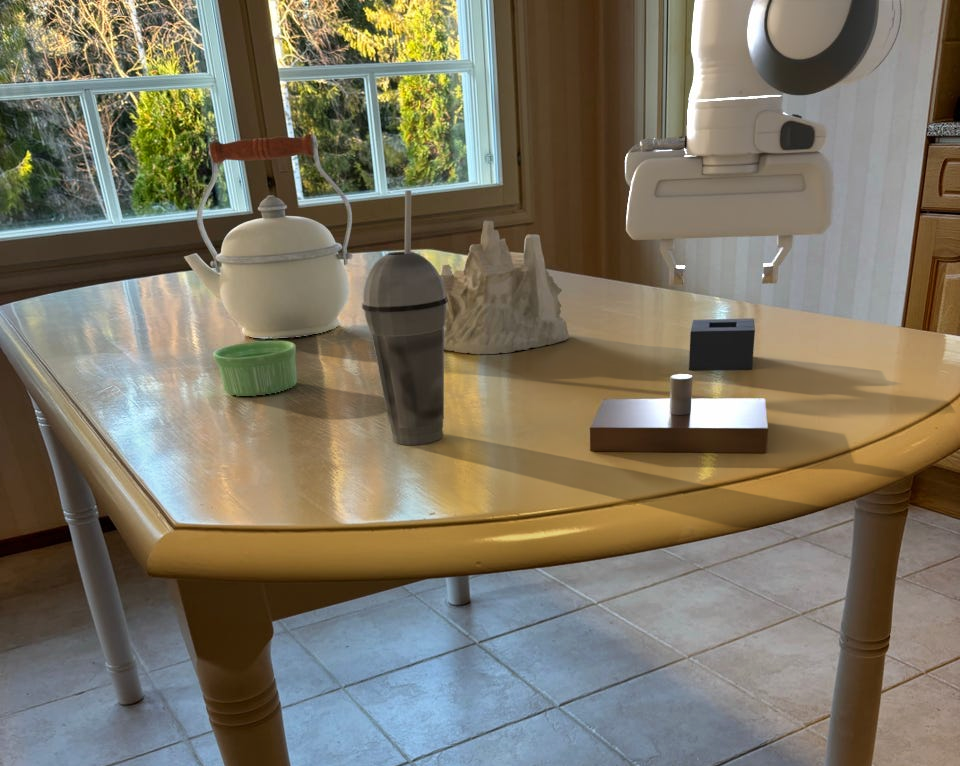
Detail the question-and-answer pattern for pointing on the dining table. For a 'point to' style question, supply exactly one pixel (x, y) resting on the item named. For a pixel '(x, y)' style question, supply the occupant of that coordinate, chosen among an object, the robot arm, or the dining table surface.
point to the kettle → (276, 255)
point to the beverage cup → (408, 339)
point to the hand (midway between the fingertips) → (722, 283)
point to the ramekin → (257, 367)
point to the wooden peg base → (680, 423)
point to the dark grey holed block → (722, 344)
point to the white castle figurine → (501, 299)
